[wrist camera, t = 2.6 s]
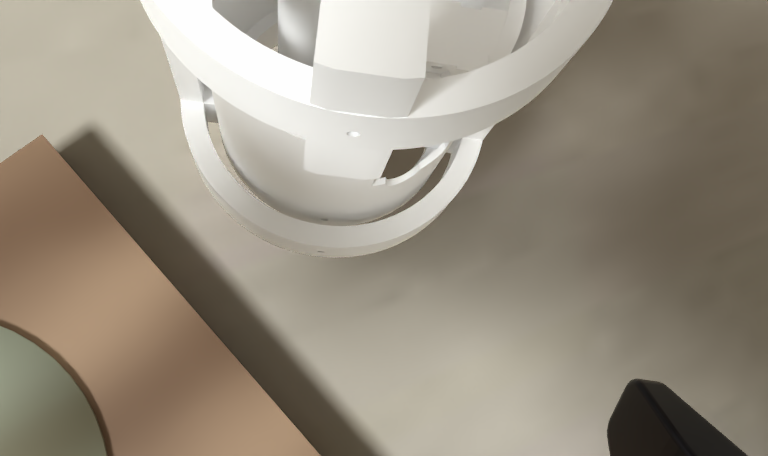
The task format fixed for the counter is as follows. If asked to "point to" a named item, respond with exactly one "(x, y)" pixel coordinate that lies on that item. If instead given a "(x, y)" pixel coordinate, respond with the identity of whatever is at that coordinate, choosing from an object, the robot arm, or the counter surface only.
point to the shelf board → (109, 338)
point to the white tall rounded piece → (354, 102)
